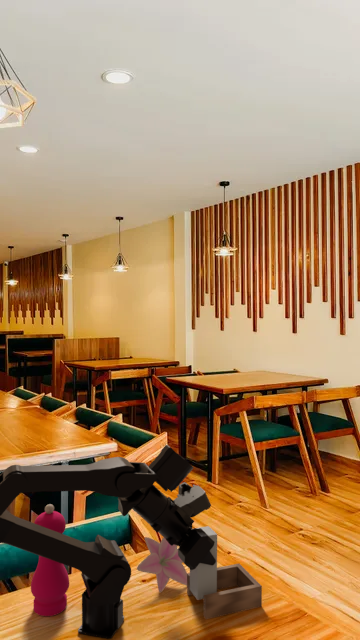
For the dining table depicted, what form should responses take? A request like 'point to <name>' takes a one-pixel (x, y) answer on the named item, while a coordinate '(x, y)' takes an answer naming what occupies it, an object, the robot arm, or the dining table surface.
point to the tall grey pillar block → (205, 572)
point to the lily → (163, 563)
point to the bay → (231, 592)
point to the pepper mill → (50, 572)
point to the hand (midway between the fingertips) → (209, 558)
